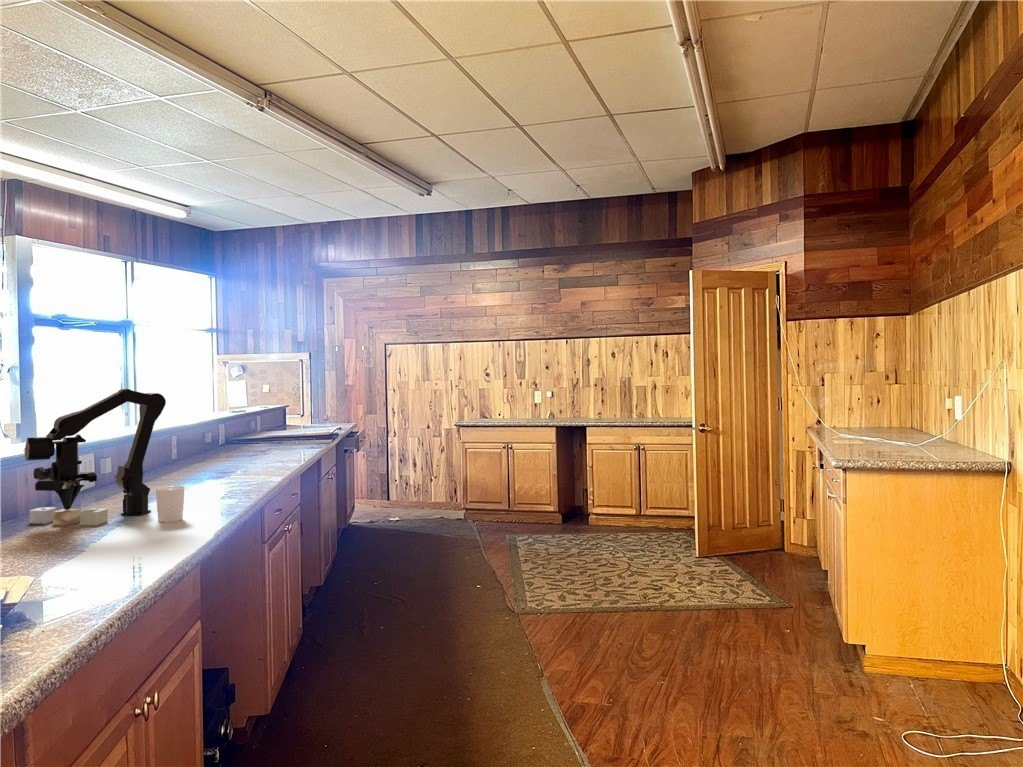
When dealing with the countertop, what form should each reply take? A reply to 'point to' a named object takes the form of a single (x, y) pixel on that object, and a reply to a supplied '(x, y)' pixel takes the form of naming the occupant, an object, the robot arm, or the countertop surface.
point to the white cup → (170, 503)
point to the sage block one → (94, 516)
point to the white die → (42, 515)
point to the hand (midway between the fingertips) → (67, 509)
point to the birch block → (66, 516)
